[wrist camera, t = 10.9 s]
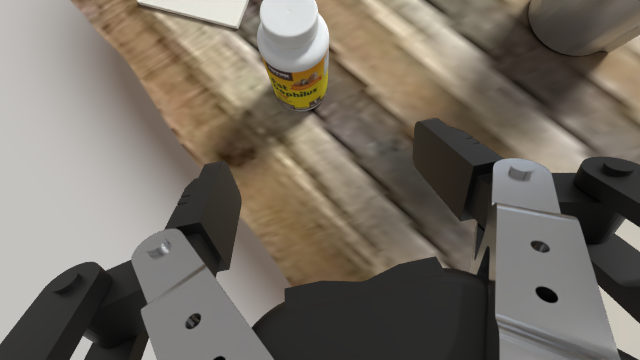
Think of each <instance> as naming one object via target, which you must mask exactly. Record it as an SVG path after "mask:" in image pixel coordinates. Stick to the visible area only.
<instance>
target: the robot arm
mask: <svg viewBox="0 0 640 360" xmlns="http://www.w3.org/2000/svg"><path fill="white" fill-rule="evenodd" d="M528 17H529V22H530V25H531V27H532V30H533V32H534V33H535V34H536V36H537V37H538V39H540V40H541V41H542V42H543V43H544V44H545V45H546V46H548V47H549V48H551V49H552V50H555V51H557V52H559V53H562V54H566V55H571V56H583V55H589V54H592V53H595V52H598V51H606V52H611V51H613V50H615V49H616V48H618V47H620V46H622V45H623V44H625V43H627V42H628V41H630V40H632V39H633V38H635V37H637V36H638V35H640V0H531V3H530V6H529V12H528ZM413 161H414V165H415V167H416V169H417V170H418V171H419V172H420V174H421V175H422V176H423V177H424V178H425V180H426V181H427V182H428V183H429V184H430V186H431V187H432V188H433V189H434V190H435V192H436V193H437V194H438V195H439V196H440V198H441V199H442V200H443V201H444V202H445V204H446V205H447V206H448V207H449V208H450V210H451V211H452V212H453V213H454V214H455V216H456V217H457V218H458V219H459V220H460V221H464V220H469V219H475V220H476V221H477V224H476V227H475V234H474V245H473V255H472V265H471V272H470V273H469V272H466V271H461V270H457V269H449V268H442V266H441V264H440V263H439V261H438V259H437V258H436V256H435V257H431V258H426V259H421V260H417V261H412V262H407V263H403V264H398V265H396V266H394V267H392V268H390V269H388V270H386V271H384V272H382V273H380V274H378V275H376V276H374V277H372V278H370V279H368V280H366V281H363V282H348V281H319V282H314V283H309V284H305V285H300V286H295V287H291V288H286V289H285V302H283V303H281V304H279V305H277V306H276V307H274V308H273V309H271V310H270V311H269V312H267V313H266V314H265V315H264V316H262V317H261V319H259V321H257V322H256V323H255V324H254V326H253V327H252V328H251V327H250V326H249V324H248V323H247V321H246V320H245V319H244V317H243V316H242V315H241V313H240V312H239V310H238V309H237V308H236V306H235V305H234V303H233V302H232V301H231V300H230V298H229V297H228V295H227V294H226V292H225V291H224V290H223V288H222V287H221V285H220V284H219V283H218V281H217V280H216V279H215V278H216V274H217V272H219V271H224V270H229V268H230V262H231V257H232V252H233V246H234V241H235V236H236V231H237V225H238V220H239V215H240V209H241V195H240V192H239V189H238V187H237V185H236V182H235V180H234V178H233V175H232V173H231V171H230V169H229V166H228V164H227V163H226V162H225V161H219V162H215V163H210V164H205V165H204V167H203V169H202V171H201V174H200V176H199V178H196V179H194V180H193V181H192V182H191V183H190V184H189V185H188V186H187V187H186V188H185V190H184V192H183V194H182V196H181V199H180V200H179V202H178V204H177V205H178V206H176V208H175V210H174V212H173V214H172V215H171V217H170V219H169V221H168V223H167V226H166V227H165V229H164V230H162V231H159V232H157V233H155V234H153V235H152V236H150V237H148V238H147V239H145V240H144V241H143V242H142V243H141V244H140V245H139V246H138V247H137V248H136V250H135V251H134V253H133V255H132V259H131V260H129V261H127V262H125V263H122V264H120V265H118V266H116V267H113V268H111V269H109V270H107V271H105V270H104V269H103V268H102V267H101V266H99V265H98V264H97V263H95V262H85V263H82V264H79V265H76V266H74V267H72V268H70V269H68V270H66V271H65V272H63V273H62V274H60V275H59V276H57V277H56V278H55V279H53V280H52V281H51V282H50V283H49V284H48V285H47V286H46V287H45V288H44V289H43V291H42V292H41V293H40V294H39V296H38V297H37V298H36V299H35V300H34V302H33V303H32V304H31V306H30V307H29V308H28V310H27V311H26V312H25V313H24V315H23V316H22V317H21V318H20V320H19V321H18V322H17V324H16V325H15V326H14V327H13V329H12V330H11V331H10V332H9V334H8V335H7V336H6V338H5V339H4V340H3V341H2V343H1V344H0V360H70V358H71V356H72V354H73V352H74V351H75V349H76V347H77V345H78V344H79V342H80V340H81V338H82V336H84V337H86V338H87V339H89V340H91V341H92V342H93V343H92V345H91V347H90V349H89V351H88V353H87V355H86V357H85V359H84V360H141V359H142V356H143V353H144V350H145V347H146V344H147V342H148V339H149V338H150V341H151V344H152V347H153V349H154V352H155V355H156V358H157V360H638V359H636V358H634V357H632V356H631V355H629V354H627V353H625V352H623V351H621V350H619V349H618V348H616V344H615V341H614V337H613V334H612V331H611V328H610V324H609V321H608V317H607V314H606V311H605V307H604V304H603V301H602V297H601V294H600V290H599V287H598V285H599V286H600V287H601V288H602V289H603V290H604V291H605V292H607V293H608V294H609V295H610V296H611V297H612V298H613V299H614V300H615V301H616V302H617V303H618V304H619V305H620V306H622V307H623V308H624V309H625V310H626V311H627V312H628V313H629V314H630V315H631V316H632V317H633V318H635V320H636V321H638V322H639V323H640V252H639V251H638V250H636V249H635V248H634V247H632V246H631V245H629V244H628V243H627V242H626V241H624V240H623V239H621V238H620V237H619V236H617V235H616V234H615V232H616V230H617V229H618V228H619V226H620V225H621V224H622V223H623V221H624V220H625V219H628V220H629V221H631V222H632V223H634V224H635V225H637V226H638V227H640V165H639V164H637V163H634V162H631V161H627V160H623V159H618V158H612V157H592V158H588V159H585V160H584V161H583V162H582V163H581V165H580V167H579V169H578V171H577V173H551V172H550V171H549V170H548V169H547V168H546V167H545V166H543V165H541V164H539V163H536V162H534V161H530V160H526V159H519V158H508V159H504V158H502V157H501V156H499V155H498V154H496V153H495V152H493V151H492V150H490V149H489V148H488V147H486V146H485V145H483V144H480V142H479V141H477V140H476V139H473V138H472V136H470V135H469V134H467V133H466V132H464V131H462V130H459V129H456V128H453V127H449V126H448V125H446V124H445V123H444V122H442V121H441V120H440V119H438V118H432V119H427V120H423V121H418V122H417V123H416V125H415V131H414V145H413Z"/></svg>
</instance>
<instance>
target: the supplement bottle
mask: <svg viewBox="0 0 640 360" xmlns="http://www.w3.org/2000/svg"><path fill="white" fill-rule="evenodd" d="M260 20H261V23H260V25H259V28H258V33H257V44H258V48H259V51H260V54H261V56H262V59H263V62H264V65H265V67H266V70H267V73H268V75H269V78H270V81H271V83H272V86H273V89H274V91H275V94H276V96H277V98H278V100H279V101H280V102H281V104H282V105H284V106H285V107H286V108H288V109H291V110H294V111H307V110H310V109H313V108H315V107H316V106H318V105H319V104H320V103H321V102H322V100H323V99H324V97H325V95H326V91H327V81H328V54H329V33H328V28H327V25H326V23H325V21H324V20H323V18H322V17H321V16H320V15H319V14H318V8H317V4H316V2H315V0H263V2H262V4H261V7H260Z"/></svg>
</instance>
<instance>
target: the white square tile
mask: <svg viewBox="0 0 640 360" xmlns="http://www.w3.org/2000/svg"><path fill="white" fill-rule="evenodd" d="M137 2H138V3H139V4H140V5H144V6H148V7H152V8H156V9H160V10H164V11H168V12H172V13H176V14H180V15H184V16H188V17H192V18H196V19H199V20H203V21H207V22H211V23H215V24H219V25H223V26H227V27H231V28H235V29H238V28H239V25H240V23H241V20H242V17H243V15H244V12H245V10H246V7H247V4H248V2H249V0H138V1H137Z"/></svg>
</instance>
